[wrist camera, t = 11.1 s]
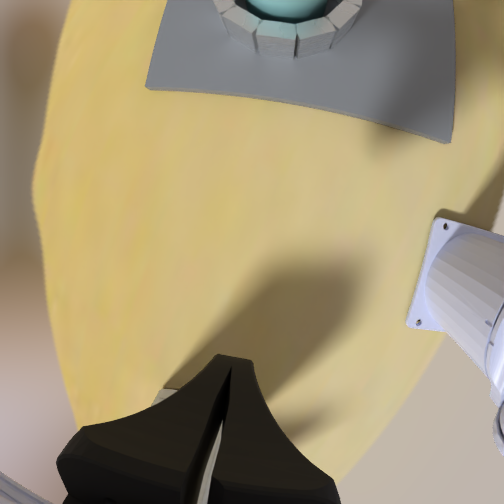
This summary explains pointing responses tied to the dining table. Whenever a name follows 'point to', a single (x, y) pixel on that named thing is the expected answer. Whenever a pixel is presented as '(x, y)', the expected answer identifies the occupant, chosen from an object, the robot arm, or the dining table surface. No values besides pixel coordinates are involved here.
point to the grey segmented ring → (287, 30)
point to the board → (324, 64)
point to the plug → (287, 10)
